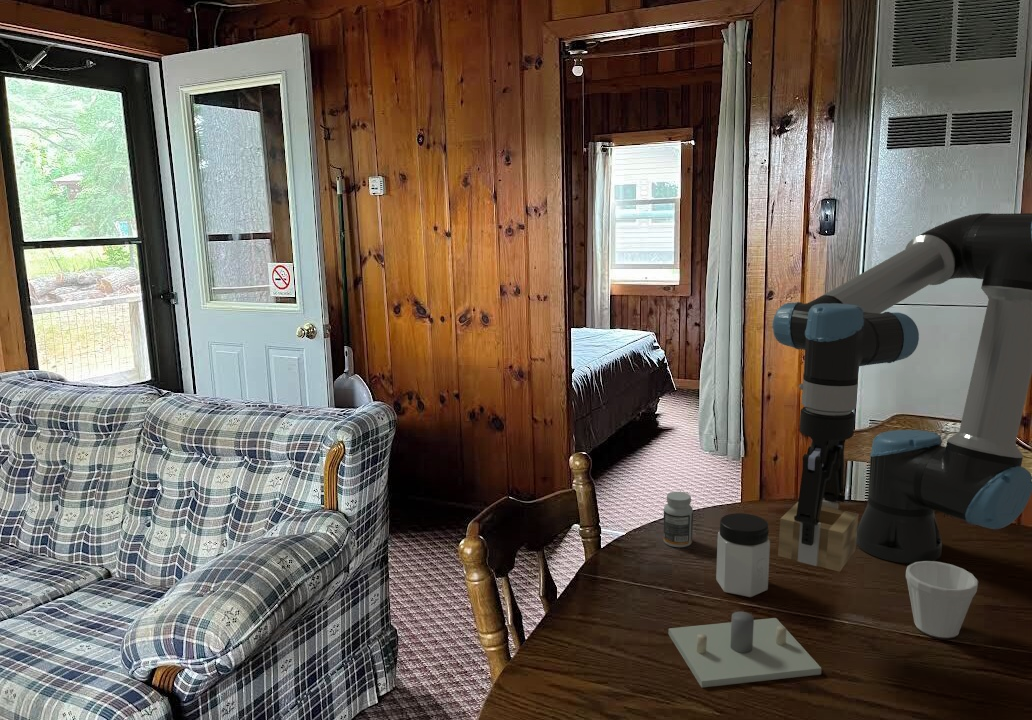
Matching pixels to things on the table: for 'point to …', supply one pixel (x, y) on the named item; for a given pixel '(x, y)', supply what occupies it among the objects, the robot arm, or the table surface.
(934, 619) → the cup
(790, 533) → the open wooden square frame
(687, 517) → the pill bottle
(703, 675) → the post fixture
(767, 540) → the jar
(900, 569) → the table surface
